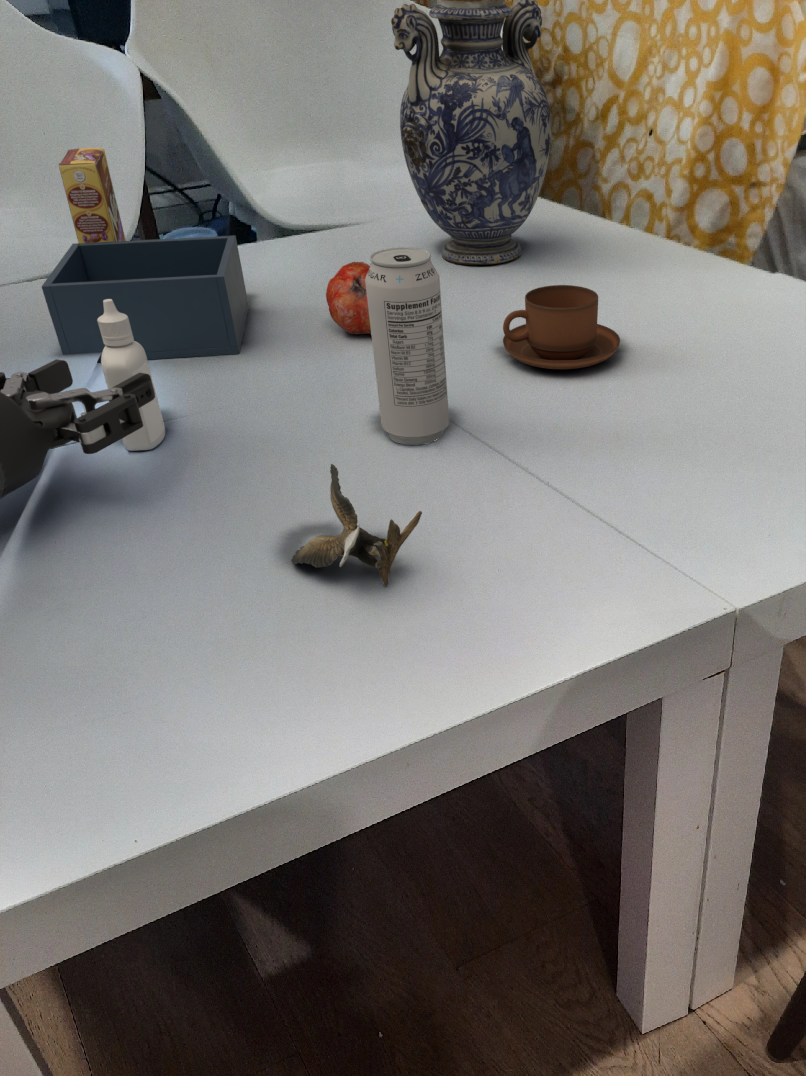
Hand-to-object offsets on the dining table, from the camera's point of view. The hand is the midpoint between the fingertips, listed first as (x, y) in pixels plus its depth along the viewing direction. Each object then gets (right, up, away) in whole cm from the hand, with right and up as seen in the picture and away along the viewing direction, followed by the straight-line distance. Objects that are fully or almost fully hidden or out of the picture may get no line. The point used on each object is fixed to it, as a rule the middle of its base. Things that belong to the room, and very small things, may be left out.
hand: (107, 377), depth 84 cm
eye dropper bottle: (+1, -4, +6) cm, 7 cm away
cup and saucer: (+38, +9, +20) cm, 44 cm away
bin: (-5, +14, +27) cm, 31 cm away
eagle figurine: (+23, -18, -11) cm, 31 cm away
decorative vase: (+28, +33, +49) cm, 66 cm away
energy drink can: (+25, -3, +6) cm, 26 cm away
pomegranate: (+17, +14, +27) cm, 35 cm away
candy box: (-14, +22, +37) cm, 45 cm away
